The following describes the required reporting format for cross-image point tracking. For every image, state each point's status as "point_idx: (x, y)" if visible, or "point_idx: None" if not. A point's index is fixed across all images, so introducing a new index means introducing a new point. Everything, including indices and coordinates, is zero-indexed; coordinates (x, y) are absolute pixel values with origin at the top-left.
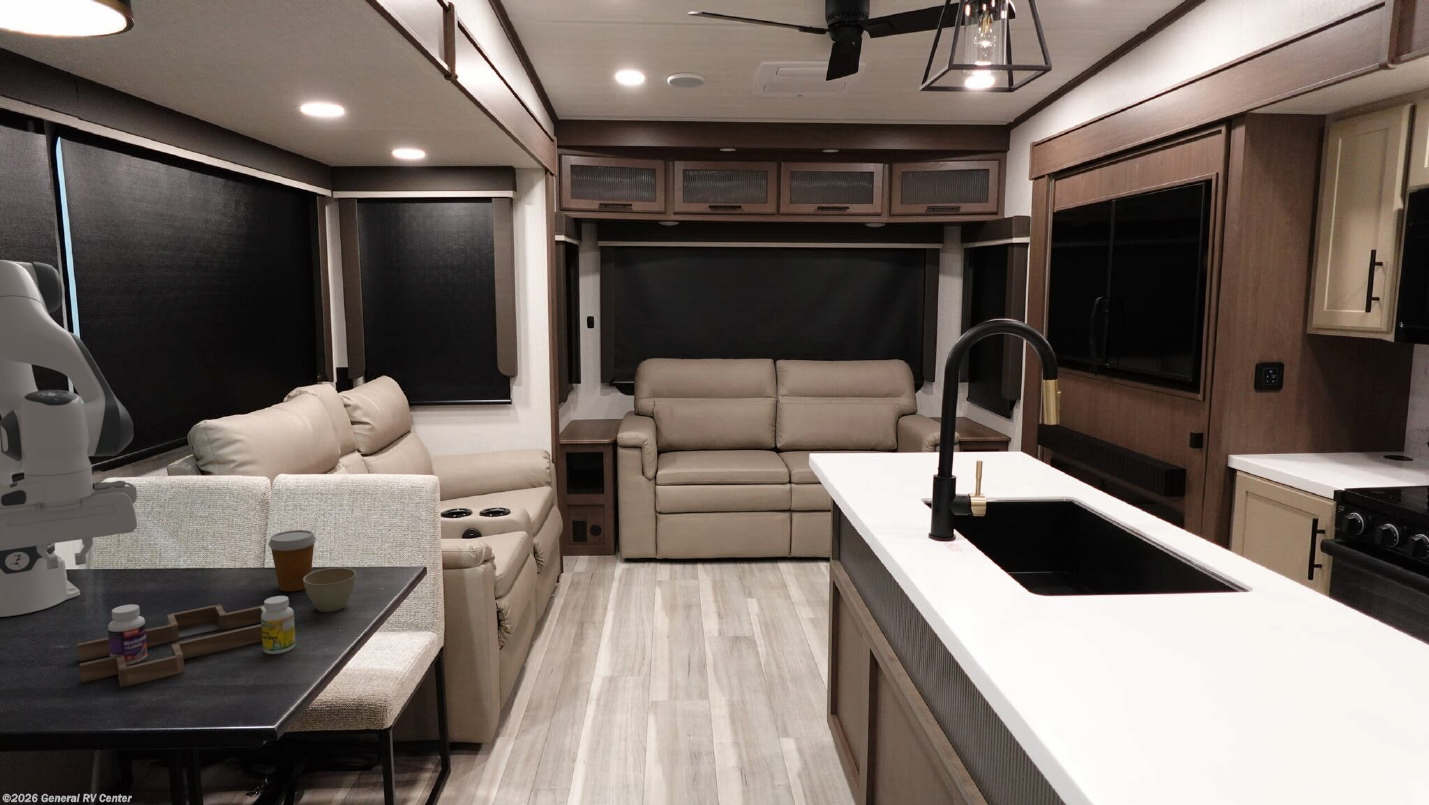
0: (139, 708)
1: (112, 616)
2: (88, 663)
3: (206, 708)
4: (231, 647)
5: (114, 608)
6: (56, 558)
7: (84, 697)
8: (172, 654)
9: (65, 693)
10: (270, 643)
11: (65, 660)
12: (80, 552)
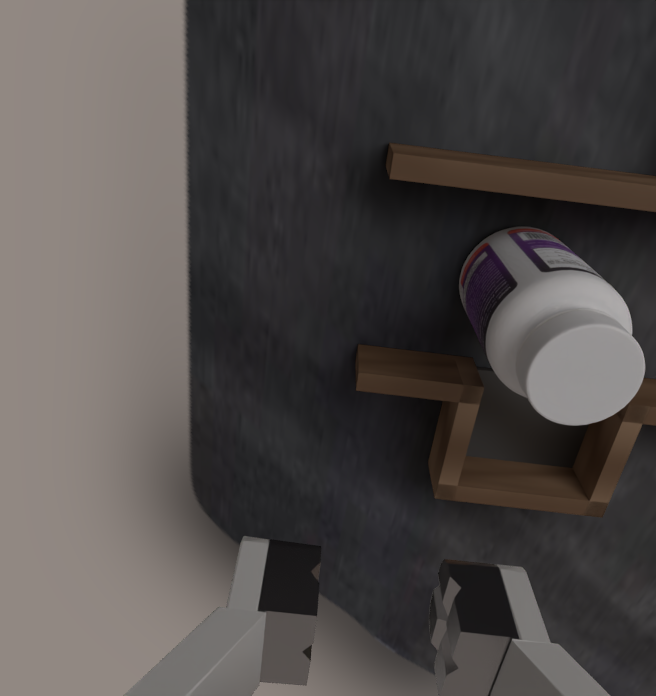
0: (425, 587)
1: (518, 370)
2: (380, 389)
3: None
4: None
5: (550, 345)
6: (299, 678)
7: (343, 457)
8: None
9: (309, 401)
10: None
11: (351, 108)
12: (510, 641)
